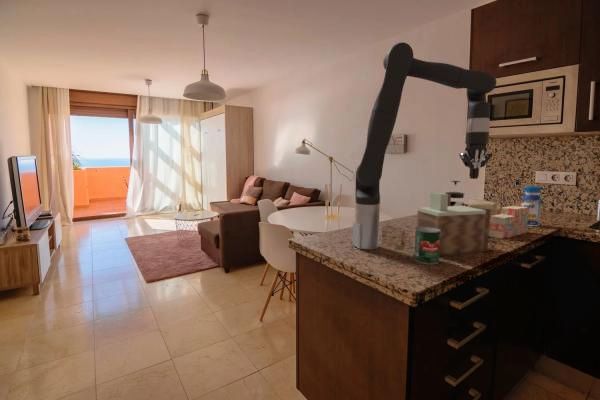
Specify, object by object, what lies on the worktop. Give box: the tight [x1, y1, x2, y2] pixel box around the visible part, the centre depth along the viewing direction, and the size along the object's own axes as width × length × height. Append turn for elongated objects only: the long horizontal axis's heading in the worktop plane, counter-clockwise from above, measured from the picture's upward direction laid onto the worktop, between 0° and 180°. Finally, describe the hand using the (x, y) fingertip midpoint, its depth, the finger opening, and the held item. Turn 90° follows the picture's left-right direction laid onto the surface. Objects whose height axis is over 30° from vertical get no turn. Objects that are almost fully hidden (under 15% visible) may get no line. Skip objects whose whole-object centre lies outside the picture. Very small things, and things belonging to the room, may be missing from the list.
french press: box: [444, 180, 469, 206], centre depth 164 cm, size 12×9×23 cm
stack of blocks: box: [489, 205, 529, 239], centre depth 147 cm, size 21×6×12 cm, turn 122°
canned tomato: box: [413, 226, 441, 265], centre depth 110 cm, size 8×8×11 cm
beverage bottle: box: [520, 185, 543, 227], centre depth 166 cm, size 8×8×20 cm
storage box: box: [416, 210, 486, 257], centre depth 122 cm, size 20×12×14 cm, turn 104°
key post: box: [466, 205, 492, 252], centre depth 125 cm, size 4×8×16 cm, turn 14°
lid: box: [417, 192, 486, 216], centre depth 121 cm, size 20×12×9 cm, turn 104°
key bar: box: [468, 198, 501, 211], centre depth 124 cm, size 3×12×2 cm, turn 14°
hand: (473, 178), depth 122 cm, fingers closed
